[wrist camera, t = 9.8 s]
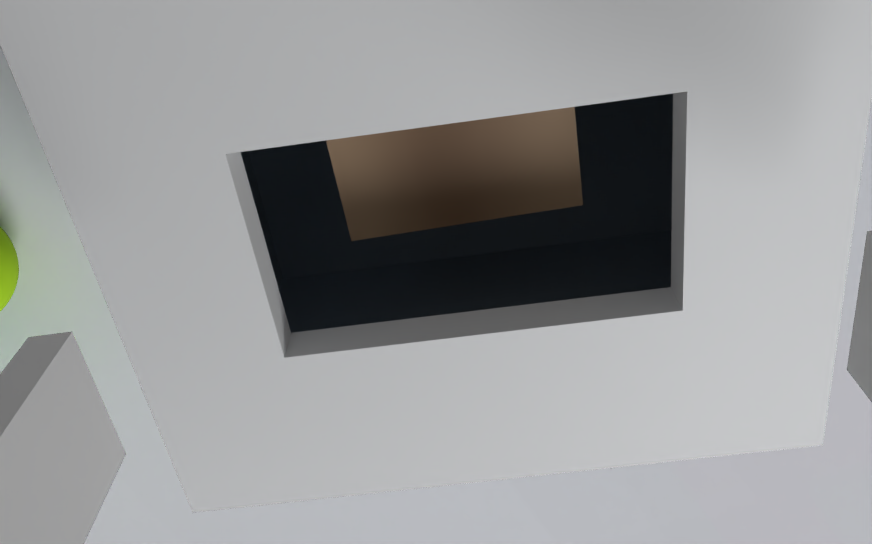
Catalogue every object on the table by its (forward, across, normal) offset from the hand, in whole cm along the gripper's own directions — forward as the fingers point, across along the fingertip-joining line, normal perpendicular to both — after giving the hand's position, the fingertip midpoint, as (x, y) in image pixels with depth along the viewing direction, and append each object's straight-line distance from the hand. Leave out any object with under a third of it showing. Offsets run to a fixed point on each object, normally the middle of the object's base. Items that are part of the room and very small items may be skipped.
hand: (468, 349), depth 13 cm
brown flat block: (+14, 0, 0) cm, 14 cm away
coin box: (+15, 0, 0) cm, 15 cm away
